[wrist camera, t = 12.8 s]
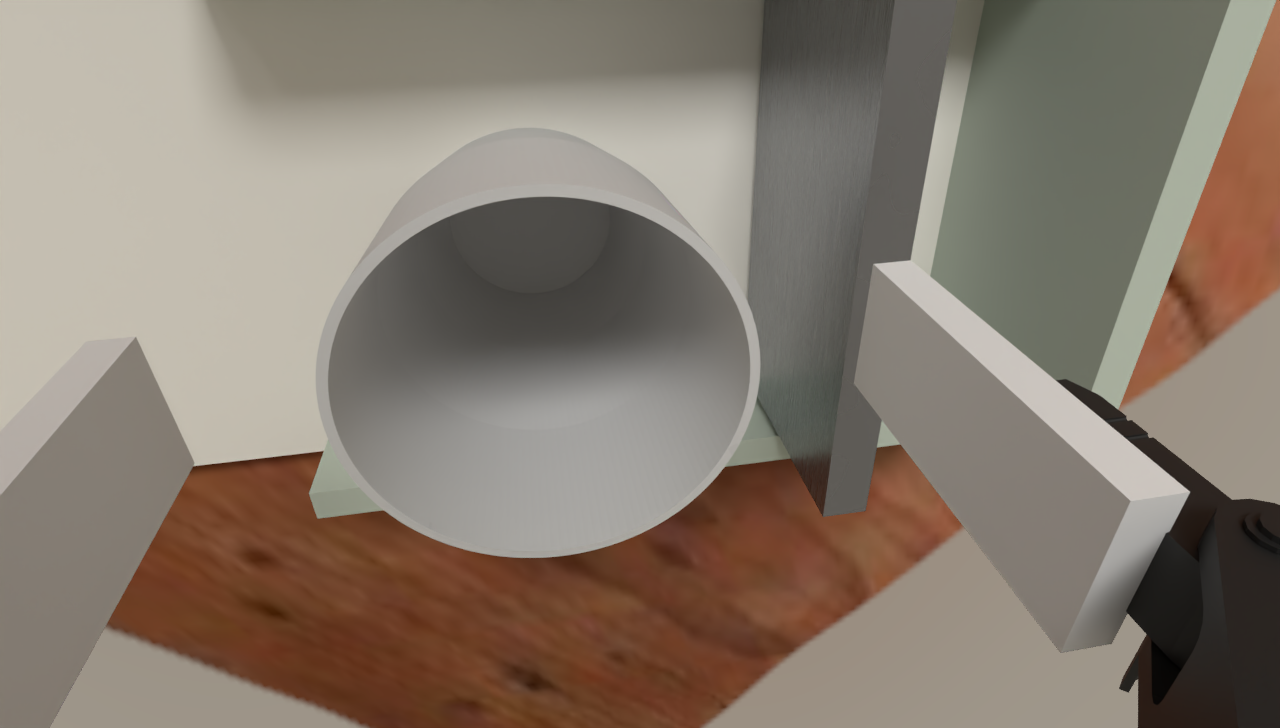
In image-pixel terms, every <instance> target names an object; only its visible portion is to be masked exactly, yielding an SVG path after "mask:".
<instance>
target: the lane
mask: <svg viewBox="0 0 1280 728" xmlns="http://www.w3.org/2000/svg"><path fill="white" fill-rule="evenodd" d="M764 1H765V0H0V431H1V430H2V429H3V428H4V427H5V426H6V425H7V424H8V423H9V422H10V420H11V419H12V418H13V417H14V416H15V415H16V414H17V413H18V412H19V411H20V410H21V409H22V408H23V407H24V406H25V405H26V404H27V403H28V402H29V401H30V400H31V399H32V398H33V397H34V395H35V394H36V393H37V392H38V391H39V390H40V389H41V388H42V387H43V386H44V385H45V384H46V383H47V382H48V381H49V380H50V379H51V378H52V377H53V376H54V375H55V374H56V373H57V372H58V371H59V369H60V368H61V367H62V366H63V365H64V364H65V363H66V362H67V361H68V360H69V359H70V358H71V357H72V356H73V355H74V354H75V353H76V352H77V351H78V350H79V349H80V348H81V347H82V346H83V344H84V343H85V342H87V341H97V340H107V339H117V338H127V337H136V338H137V340H138V342H139V344H140V346H141V349H142V351H143V353H144V355H145V357H146V359H147V361H148V364H149V366H150V368H151V370H152V372H153V374H154V377H155V379H156V381H157V383H158V385H159V387H160V389H161V392H162V394H163V396H164V398H165V400H166V402H167V404H168V407H169V409H170V411H171V413H172V415H173V417H174V419H175V422H176V424H177V426H178V428H179V430H180V432H181V435H182V437H183V439H184V441H185V443H186V445H187V447H188V450H189V452H190V454H191V456H192V458H193V460H194V462H195V464H194V466H199V465H208V464H217V463H225V462H234V461H242V460H251V459H260V458H268V457H277V456H285V455H294V454H303V453H311V452H320V451H324V452H323V455H322V458H321V461H320V464H319V466H318V469H317V472H316V475H315V478H314V481H313V483H312V486H311V489H310V492H309V496H310V498H311V501H312V504H313V507H314V510H315V513H316V515H317V518H318V519H319V518H326V517H334V516H342V515H350V514H358V513H366V512H374V511H381V510H383V509H382V508H380V507H379V506H378V505H377V504H376V503H374V502H373V501H372V500H371V499H370V498H369V497H368V496H367V495H366V494H365V493H364V492H363V491H362V490H361V489H360V488H359V487H358V486H357V484H356V483H355V482H354V481H353V480H352V478H351V477H350V476H349V474H348V473H347V472H346V470H345V469H344V467H343V466H342V464H341V463H340V461H339V459H338V458H337V456H336V454H335V452H334V450H333V448H332V446H331V444H330V442H329V440H328V438H327V435H326V432H325V430H324V427H323V423H322V420H321V416H320V412H319V408H318V402H317V394H316V361H317V353H318V348H319V343H320V339H321V335H322V331H323V328H324V325H325V322H326V319H327V317H328V315H329V312H330V310H331V308H332V306H333V304H334V302H335V300H336V298H337V296H338V294H339V293H340V291H341V289H342V288H343V286H344V285H345V283H346V281H347V280H348V278H349V277H350V275H351V273H352V272H353V270H354V269H355V267H356V266H357V264H358V262H359V261H360V259H361V258H362V256H363V255H364V253H365V251H366V250H367V248H368V247H369V245H370V243H371V242H372V240H373V239H374V237H375V236H376V234H377V232H378V231H379V229H380V228H381V226H382V225H383V223H384V221H385V220H386V218H387V217H388V215H389V213H390V212H391V210H392V209H393V207H394V206H395V205H396V203H397V202H398V201H399V199H400V198H401V197H402V196H403V195H404V194H405V192H406V191H407V190H408V189H409V188H410V187H411V186H412V185H413V184H414V183H415V182H416V181H418V180H419V179H420V178H421V177H422V176H424V175H425V174H426V173H427V172H429V171H430V170H431V169H433V168H434V167H435V166H437V165H438V164H439V163H441V162H442V161H443V160H445V159H446V158H447V157H449V156H450V155H452V154H453V153H454V152H456V151H457V150H458V149H460V148H461V147H463V146H465V145H466V144H468V143H470V142H472V141H474V140H476V139H478V138H480V137H483V136H486V135H488V134H492V133H495V132H499V131H503V130H509V129H516V128H542V129H550V130H555V131H560V132H564V133H567V134H570V135H573V136H576V137H578V138H581V139H583V140H585V141H587V142H589V143H591V144H593V145H594V146H596V147H598V148H600V149H602V150H604V151H605V152H607V153H609V154H611V155H613V156H615V157H616V158H618V159H620V160H622V161H624V162H625V163H627V164H629V165H630V166H632V167H633V168H635V169H636V170H637V171H639V172H640V173H641V174H643V175H644V176H645V177H646V178H647V179H649V180H650V181H651V182H652V183H653V184H654V185H655V186H656V187H657V188H658V189H659V190H660V191H661V192H662V193H663V194H664V196H665V197H666V198H667V199H668V200H669V201H670V202H671V203H672V204H673V206H674V207H675V208H676V209H677V210H678V211H679V212H680V213H681V215H682V216H683V217H684V218H685V219H686V220H687V221H688V222H689V224H690V225H691V226H692V227H693V228H694V229H695V230H696V231H697V233H698V234H699V235H700V236H701V237H702V238H703V239H704V240H705V242H706V243H707V244H708V245H709V246H710V247H711V248H712V249H713V251H714V252H715V253H716V254H717V255H718V256H719V257H720V259H721V260H722V261H723V262H724V263H725V265H726V266H727V267H728V269H729V270H730V271H731V273H732V274H733V276H734V277H735V279H736V281H737V282H738V284H739V286H740V288H741V289H742V291H743V293H744V295H745V297H746V300H747V302H748V291H749V273H750V255H751V236H752V218H753V200H754V182H755V164H756V146H757V128H758V109H759V91H760V73H761V55H762V37H763V19H764ZM1275 2H1276V0H957V4H956V10H955V15H954V21H953V26H952V32H951V37H950V43H949V49H948V54H947V60H946V65H945V71H944V76H943V82H942V87H941V93H940V99H939V104H938V110H937V115H936V121H935V126H934V132H933V138H932V143H931V149H930V154H929V160H928V165H927V171H926V177H925V182H924V188H923V193H922V199H921V204H920V210H919V216H918V221H917V227H916V232H915V238H914V243H913V249H912V255H911V261H912V262H913V263H915V264H916V265H917V266H918V267H919V268H921V269H922V270H923V271H924V272H925V273H927V274H928V275H929V276H930V277H931V278H933V279H934V280H935V281H936V282H938V283H939V284H940V285H941V286H942V287H944V288H945V289H946V290H947V291H948V292H950V293H951V294H952V295H953V296H954V297H956V298H957V299H958V300H959V301H960V302H962V303H963V304H964V305H965V306H966V307H968V308H969V309H970V310H971V311H972V312H974V313H975V314H976V315H977V316H979V317H980V318H981V319H982V320H983V321H985V322H986V323H987V324H988V325H989V326H991V327H992V328H993V329H994V330H995V331H997V332H998V333H999V334H1000V335H1001V336H1003V337H1004V338H1005V339H1006V340H1007V341H1009V342H1010V343H1011V344H1012V345H1013V346H1015V347H1016V348H1017V349H1018V350H1020V351H1021V352H1022V353H1023V354H1024V355H1026V356H1027V357H1028V358H1029V359H1030V360H1032V361H1033V362H1034V363H1035V364H1036V365H1038V366H1039V367H1040V368H1041V369H1042V370H1044V371H1045V372H1046V373H1047V374H1048V375H1050V376H1051V377H1052V378H1053V379H1054V380H1062V379H1067V380H1069V381H1071V382H1073V383H1075V384H1077V385H1080V386H1082V387H1084V388H1086V389H1088V390H1090V391H1092V392H1094V393H1096V394H1098V395H1100V396H1102V397H1103V398H1104V399H1105V400H1107V401H1108V402H1109V403H1110V404H1112V405H1113V406H1114V407H1115V408H1117V409H1119V406H1120V404H1121V401H1122V398H1123V396H1124V393H1125V391H1126V388H1127V386H1128V383H1129V380H1130V378H1131V375H1132V373H1133V370H1134V367H1135V365H1136V362H1137V360H1138V357H1139V354H1140V352H1141V349H1142V347H1143V344H1144V341H1145V339H1146V336H1147V334H1148V331H1149V328H1150V326H1151V323H1152V321H1153V318H1154V316H1155V313H1156V310H1157V308H1158V305H1159V303H1160V300H1161V297H1162V295H1163V292H1164V290H1165V287H1166V284H1167V282H1168V279H1169V277H1170V274H1171V271H1172V269H1173V266H1174V264H1175V261H1176V258H1177V256H1178V253H1179V251H1180V248H1181V246H1182V243H1183V240H1184V238H1185V235H1186V233H1187V230H1188V227H1189V225H1190V222H1191V220H1192V217H1193V214H1194V212H1195V209H1196V207H1197V204H1198V201H1199V199H1200V196H1201V194H1202V191H1203V189H1204V186H1205V183H1206V181H1207V178H1208V176H1209V173H1210V170H1211V168H1212V165H1213V163H1214V160H1215V157H1216V155H1217V152H1218V150H1219V147H1220V144H1221V142H1222V139H1223V137H1224V134H1225V131H1226V129H1227V126H1228V124H1229V121H1230V119H1231V116H1232V113H1233V111H1234V108H1235V106H1236V103H1237V100H1238V98H1239V95H1240V93H1241V90H1242V87H1243V85H1244V82H1245V80H1246V77H1247V74H1248V72H1249V69H1250V67H1251V64H1252V61H1253V59H1254V56H1255V54H1256V51H1257V49H1258V46H1259V43H1260V41H1261V38H1262V36H1263V33H1264V30H1265V28H1266V25H1267V23H1268V20H1269V17H1270V15H1271V12H1272V10H1273V7H1274V4H1275ZM892 445H900V443H899V442H898V440H897V439H896V438H895V437H894V435H893V434H892V433H891V431H890V430H889V429H888V427H887V426H886V425H885V423H884V422H883V421H882V422H881V427H880V433H879V438H878V444H877V447H884V446H892ZM790 458H791V457H790V456H789V454H788V452H787V450H786V448H785V446H784V445H783V443H782V441H781V439H780V437H779V436H778V434H777V432H776V430H775V428H774V426H773V425H772V423H771V421H770V419H769V417H768V415H767V414H766V412H765V410H764V408H763V406H762V404H761V403H760V401H759V399H758V397H757V399H756V403H755V407H754V410H753V414H752V417H751V419H750V422H749V425H748V427H747V430H746V432H745V434H744V436H743V438H742V440H741V442H740V444H739V446H738V447H737V449H736V451H735V452H734V454H733V456H732V457H731V459H730V460H729V462H728V463H727V464H726V466H725V467H727V466H735V465H743V464H751V463H759V462H767V461H774V460H782V459H790Z"/></svg>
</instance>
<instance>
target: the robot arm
mask: <svg viewBox="0 0 1280 728" xmlns="http://www.w3.org/2000/svg"><path fill="white" fill-rule="evenodd" d="M854 384H855V386H856V387H857V388H858V390H859V391H860V392H861V393H862V395H863V396H864V397H865V399H866V400H867V401H868V403H869V404H870V405H871V407H872V408H873V409H874V410H875V412H876V413H877V414H878V416H879V417H880V418H881V420H882V421H883V422H884V423H885V425H886V426H887V427H888V429H889V430H890V431H891V433H892V434H893V435H894V437H895V438H896V439H897V440H898V442H899V443H900V444H901V446H902V447H903V448H904V450H905V451H906V452H907V453H908V455H909V456H910V457H911V459H912V460H913V461H914V463H915V464H916V465H917V467H918V468H919V469H920V470H921V472H922V473H923V474H924V476H925V477H926V478H927V480H928V481H929V482H930V483H931V485H932V486H933V487H934V489H935V490H936V491H937V493H938V494H939V495H940V497H941V498H942V499H943V500H944V502H945V503H946V504H947V506H948V507H949V508H950V510H951V511H952V512H953V513H954V515H955V516H956V517H957V519H958V520H959V521H960V523H961V524H962V525H963V527H964V528H965V529H966V530H967V532H968V533H969V534H970V536H971V537H972V538H973V539H974V541H975V542H976V543H977V545H978V546H979V547H980V549H981V550H982V551H983V553H984V554H985V555H986V556H987V558H988V559H989V560H990V562H991V563H992V564H993V566H994V567H995V568H996V570H997V571H998V572H999V573H1000V575H1001V576H1002V577H1003V579H1004V580H1005V581H1006V583H1007V584H1008V585H1009V586H1010V588H1011V589H1012V590H1013V592H1014V593H1015V594H1016V596H1017V597H1018V598H1019V600H1020V601H1021V602H1022V603H1023V605H1024V606H1025V607H1026V609H1027V610H1028V611H1029V613H1030V614H1031V615H1032V616H1033V618H1034V619H1035V620H1036V622H1037V623H1038V624H1039V626H1040V627H1041V628H1042V630H1043V631H1044V632H1045V633H1046V635H1047V636H1048V637H1049V639H1050V640H1051V641H1052V643H1053V644H1054V645H1055V646H1056V648H1057V649H1058V650H1059V652H1060V653H1063V652H1069V651H1074V650H1079V649H1085V648H1091V647H1096V646H1102V645H1107V644H1112V642H1113V640H1114V638H1115V636H1116V634H1117V632H1118V630H1119V629H1120V627H1121V625H1122V623H1123V621H1124V619H1125V617H1126V615H1127V613H1128V614H1129V615H1130V616H1131V617H1132V618H1133V620H1134V621H1135V622H1136V623H1137V624H1138V625H1139V626H1140V627H1141V628H1142V629H1143V631H1144V632H1146V634H1147V635H1146V637H1145V639H1144V640H1143V642H1142V644H1141V646H1140V648H1139V650H1138V652H1137V653H1136V655H1135V657H1134V659H1133V660H1132V662H1131V664H1130V666H1129V668H1128V669H1127V671H1126V673H1125V675H1124V677H1123V679H1122V682H1121V685H1120V687H1119V689H1121V690H1123V691H1126V692H1129V691H1130V689H1131V687H1132V686H1133V684H1134V682H1135V680H1137V679H1138V728H1280V505H1278V504H1275V503H1270V502H1264V501H1259V500H1253V499H1240V500H1231V499H1230V498H1229V497H1227V496H1226V495H1225V494H1224V493H1223V492H1221V491H1220V490H1219V489H1218V488H1216V487H1215V486H1214V485H1212V484H1211V483H1210V482H1209V481H1207V480H1206V479H1205V478H1204V477H1202V476H1201V475H1200V474H1199V473H1197V472H1196V471H1195V470H1194V469H1192V468H1191V467H1190V466H1189V465H1187V464H1186V463H1185V462H1184V461H1182V460H1181V459H1180V458H1178V457H1177V456H1176V455H1175V454H1173V453H1172V452H1171V451H1170V450H1168V449H1167V448H1166V447H1165V446H1163V445H1162V444H1161V443H1160V442H1158V441H1157V440H1156V439H1154V438H1149V437H1148V433H1147V432H1146V431H1144V430H1143V429H1142V428H1141V427H1139V426H1138V425H1137V424H1136V423H1134V422H1133V421H1132V420H1130V421H1127V419H1126V416H1125V415H1124V414H1123V413H1122V412H1120V411H1119V410H1118V409H1117V408H1115V407H1114V406H1113V405H1112V404H1110V403H1109V402H1108V401H1107V400H1105V399H1104V398H1103V397H1102V396H1100V395H1098V394H1096V393H1094V392H1092V391H1090V390H1088V389H1086V388H1084V387H1082V386H1080V385H1077V384H1075V383H1073V382H1071V381H1069V380H1067V379H1062V380H1054V379H1053V378H1052V377H1051V376H1050V375H1048V374H1047V373H1046V372H1045V371H1044V370H1042V369H1041V368H1040V367H1039V366H1038V365H1036V364H1035V363H1034V362H1033V361H1032V360H1030V359H1029V358H1028V357H1027V356H1026V355H1024V354H1023V353H1022V352H1021V351H1020V350H1018V349H1017V348H1016V347H1015V346H1013V345H1012V344H1011V343H1010V342H1009V341H1007V340H1006V339H1005V338H1004V337H1003V336H1001V335H1000V334H999V333H998V332H997V331H995V330H994V329H993V328H992V327H991V326H989V325H988V324H987V323H986V322H985V321H983V320H982V319H981V318H980V317H979V316H977V315H976V314H975V313H974V312H972V311H971V310H970V309H969V308H968V307H966V306H965V305H964V304H963V303H962V302H960V301H959V300H958V299H957V298H956V297H954V296H953V295H952V294H951V293H950V292H948V291H947V290H946V289H945V288H944V287H942V286H941V285H940V284H939V283H938V282H936V281H935V280H934V279H933V278H931V277H930V276H929V275H928V274H927V273H925V272H924V271H923V270H922V269H921V268H919V267H918V266H917V265H916V264H915V263H913V262H912V261H911V260H909V261H898V262H888V263H878V264H873V269H872V275H871V281H870V287H869V293H868V300H867V306H866V312H865V318H864V324H863V330H862V336H861V342H860V348H859V355H858V361H857V367H856V373H855V379H854ZM194 464H195V462H194V460H193V458H192V456H191V454H190V452H189V450H188V447H187V445H186V443H185V441H184V439H183V437H182V435H181V432H180V430H179V428H178V426H177V424H176V422H175V419H174V417H173V415H172V413H171V411H170V409H169V407H168V404H167V402H166V400H165V398H164V396H163V394H162V392H161V389H160V387H159V385H158V383H157V381H156V379H155V377H154V374H153V372H152V370H151V368H150V366H149V364H148V361H147V359H146V357H145V355H144V353H143V351H142V349H141V346H140V344H139V342H138V340H137V338H136V337H127V338H117V339H107V340H97V341H87V342H85V343H84V344H83V346H82V347H81V348H80V349H79V350H78V351H77V352H76V353H75V354H74V355H73V356H72V357H71V358H70V359H69V360H68V361H67V362H66V363H65V364H64V365H63V366H62V367H61V368H60V369H59V371H58V372H57V373H56V374H55V375H54V376H53V377H52V378H51V379H50V380H49V381H48V382H47V383H46V384H45V385H44V386H43V387H42V388H41V389H40V390H39V391H38V392H37V393H36V394H35V395H34V397H33V398H32V399H31V400H30V401H29V402H28V403H27V404H26V405H25V406H24V407H23V408H22V409H21V410H20V411H19V412H18V413H17V414H16V415H15V416H14V417H13V418H12V419H11V420H10V422H9V423H8V424H7V425H6V426H5V427H4V428H3V429H2V430H1V431H0V728H50V726H51V724H52V722H53V721H54V719H55V717H56V715H57V714H58V712H59V710H60V708H61V706H62V704H63V703H64V701H65V699H66V697H67V695H68V693H69V691H70V690H71V688H72V686H73V684H74V682H75V681H76V679H77V677H78V675H79V673H80V671H81V670H82V668H83V666H84V664H85V662H86V661H87V659H88V657H89V655H90V653H91V652H92V650H93V648H94V646H95V644H96V642H97V641H98V639H99V637H100V635H101V633H102V632H103V630H104V628H105V626H106V624H107V622H108V621H109V619H110V617H111V615H112V613H113V611H114V610H115V608H116V606H117V604H118V602H119V601H120V599H121V597H122V595H123V593H124V591H125V590H126V588H127V586H128V584H129V582H130V581H131V579H132V577H133V575H134V573H135V571H136V570H137V568H138V566H139V564H140V562H141V560H142V559H143V557H144V555H145V553H146V551H147V550H148V548H149V546H150V544H151V542H152V540H153V539H154V537H155V535H156V533H157V531H158V530H159V528H160V526H161V524H162V522H163V520H164V519H165V517H166V515H167V513H168V511H169V509H170V508H171V506H172V504H173V502H174V500H175V499H176V497H177V495H178V493H179V491H180V489H181V488H182V486H183V484H184V482H185V480H186V478H187V477H188V475H189V473H190V471H191V469H192V468H193V466H194Z"/></svg>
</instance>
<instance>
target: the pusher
mask: <svg viewBox="0 0 1280 728" xmlns="http://www.w3.org/2000/svg"><path fill="white" fill-rule="evenodd" d="M956 4H957V0H765V1H764V19H763V37H762V55H761V73H760V91H759V109H758V128H757V146H756V164H755V182H754V200H753V218H752V236H751V255H750V273H749V291H748V304H749V307H750V309H751V312H752V315H753V318H754V322H755V325H756V329H757V334H758V340H759V347H760V381H759V388H758V394H757V397H758V399H759V401H760V403H761V404H762V406H763V408H764V410H765V412H766V414H767V415H768V417H769V419H770V421H771V423H772V425H773V426H774V428H775V430H776V432H777V434H778V436H779V437H780V439H781V441H782V443H783V445H784V446H785V448H786V450H787V452H788V454H789V456H790V457H791V459H792V461H793V463H794V465H795V467H796V468H797V470H798V472H799V474H800V476H801V478H802V479H803V481H804V483H805V485H806V487H807V488H808V490H809V492H810V494H811V496H812V498H813V499H814V501H815V503H816V505H817V507H818V509H819V510H820V512H821V514H822V516H823V517H825V516H833V515H840V514H847V513H854V512H861V511H866V505H867V499H868V494H869V488H870V483H871V477H872V472H873V466H874V461H875V455H876V449H877V444H878V438H879V433H880V427H881V422H882V420H881V418H880V417H879V416H878V414H877V413H876V412H875V410H874V409H873V408H872V407H871V405H870V404H869V403H868V401H867V400H866V399H865V397H864V396H863V395H862V393H861V392H860V391H859V390H858V388H857V387H856V386H855V384H854V379H855V373H856V367H857V361H858V355H859V348H860V342H861V336H862V330H863V324H864V318H865V312H866V306H867V300H868V293H869V287H870V281H871V275H872V269H873V264H878V263H888V262H898V261H909V260H911V255H912V249H913V243H914V238H915V232H916V227H917V221H918V216H919V210H920V204H921V199H922V193H923V188H924V182H925V177H926V171H927V165H928V160H929V154H930V149H931V143H932V138H933V132H934V126H935V121H936V115H937V110H938V104H939V99H940V93H941V87H942V82H943V76H944V71H945V65H946V60H947V54H948V49H949V43H950V37H951V32H952V26H953V21H954V15H955V10H956Z"/></svg>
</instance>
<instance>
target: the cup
mask: <svg viewBox="0 0 1280 728" xmlns="http://www.w3.org/2000/svg"><path fill="white" fill-rule="evenodd" d="M759 381H760V347H759V340H758V334H757V329H756V325H755V322H754V318H753V315H752V312H751V309H750V307H749V304H748V302H747V300H746V297H745V295H744V293H743V291H742V289H741V288H740V286H739V284H738V282H737V281H736V279H735V277H734V276H733V274H732V273H731V271H730V270H729V269H728V267H727V266H726V265H725V263H724V262H723V261H722V260H721V259H720V257H719V256H718V255H717V254H716V253H715V252H714V251H713V249H712V248H711V247H710V246H709V245H708V244H707V243H706V242H705V240H704V239H703V238H702V237H701V236H700V235H699V234H698V233H697V231H696V230H695V229H694V228H693V227H692V226H691V225H690V224H689V222H688V221H687V220H686V219H685V218H684V217H683V216H682V215H681V213H680V212H679V211H678V210H677V209H676V208H675V207H674V206H673V204H672V203H671V202H670V201H669V200H668V199H667V198H666V197H665V196H664V194H663V193H662V192H661V191H660V190H659V189H658V188H657V187H656V186H655V185H654V184H653V183H652V182H651V181H650V180H649V179H647V178H646V177H645V176H644V175H643V174H641V173H640V172H639V171H637V170H636V169H635V168H633V167H632V166H630V165H629V164H627V163H625V162H624V161H622V160H620V159H618V158H616V157H615V156H613V155H611V154H609V153H607V152H605V151H604V150H602V149H600V148H598V147H596V146H594V145H593V144H591V143H589V142H587V141H585V140H583V139H581V138H578V137H576V136H573V135H570V134H567V133H564V132H560V131H555V130H550V129H542V128H516V129H509V130H503V131H499V132H495V133H492V134H488V135H486V136H483V137H480V138H478V139H476V140H474V141H472V142H470V143H468V144H466V145H465V146H463V147H461V148H460V149H458V150H457V151H456V152H454V153H453V154H452V155H450V156H449V157H447V158H446V159H445V160H443V161H442V162H441V163H439V164H438V165H437V166H435V167H434V168H433V169H431V170H430V171H429V172H427V173H426V174H425V175H424V176H422V177H421V178H420V179H419V180H418V181H416V182H415V183H414V184H413V185H412V186H411V187H410V188H409V189H408V190H407V191H406V192H405V194H404V195H403V196H402V197H401V198H400V199H399V201H398V202H397V203H396V205H395V206H394V207H393V209H392V210H391V212H390V213H389V215H388V217H387V218H386V220H385V221H384V223H383V225H382V226H381V228H380V229H379V231H378V232H377V234H376V236H375V237H374V239H373V240H372V242H371V243H370V245H369V247H368V248H367V250H366V251H365V253H364V255H363V256H362V258H361V259H360V261H359V262H358V264H357V266H356V267H355V269H354V270H353V272H352V273H351V275H350V277H349V278H348V280H347V281H346V283H345V285H344V286H343V288H342V289H341V291H340V293H339V294H338V296H337V298H336V300H335V302H334V304H333V306H332V308H331V310H330V312H329V315H328V317H327V319H326V322H325V325H324V328H323V331H322V335H321V339H320V343H319V348H318V353H317V361H316V394H317V402H318V408H319V412H320V416H321V420H322V423H323V427H324V430H325V432H326V435H327V438H328V440H329V442H330V444H331V446H332V448H333V450H334V452H335V454H336V456H337V458H338V459H339V461H340V463H341V464H342V466H343V467H344V469H345V470H346V472H347V473H348V474H349V476H350V477H351V478H352V480H353V481H354V482H355V483H356V484H357V486H358V487H359V488H360V489H361V490H362V491H363V492H364V493H365V494H366V495H367V496H368V497H369V498H370V499H371V500H372V501H373V502H374V503H376V504H377V505H378V506H379V507H380V508H382V509H383V510H384V511H385V512H387V513H388V514H389V515H391V516H392V517H394V518H395V519H397V520H398V521H400V522H401V523H403V524H405V525H406V526H408V527H410V528H412V529H413V530H415V531H417V532H419V533H421V534H423V535H426V536H428V537H430V538H432V539H435V540H437V541H440V542H442V543H445V544H448V545H451V546H454V547H457V548H461V549H465V550H468V551H473V552H477V553H482V554H488V555H494V556H503V557H515V558H544V557H557V556H565V555H572V554H578V553H583V552H588V551H592V550H596V549H600V548H603V547H607V546H610V545H613V544H616V543H619V542H622V541H624V540H627V539H629V538H632V537H634V536H636V535H639V534H641V533H643V532H645V531H647V530H649V529H651V528H653V527H655V526H656V525H658V524H660V523H662V522H663V521H665V520H667V519H668V518H670V517H671V516H673V515H674V514H676V513H677V512H679V511H680V510H681V509H683V508H684V507H685V506H687V505H688V504H689V503H690V502H691V501H693V500H694V499H695V498H696V497H697V496H698V495H699V494H701V493H702V492H703V491H704V490H705V489H706V488H707V487H708V486H709V485H710V484H711V483H712V481H713V480H714V479H715V478H716V477H717V476H718V475H719V473H720V472H721V471H722V470H723V468H724V467H725V466H726V464H727V463H728V462H729V460H730V459H731V457H732V456H733V454H734V452H735V451H736V449H737V447H738V446H739V444H740V442H741V440H742V438H743V436H744V434H745V432H746V430H747V427H748V425H749V422H750V419H751V417H752V414H753V410H754V407H755V403H756V399H757V394H758V388H759Z"/></svg>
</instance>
